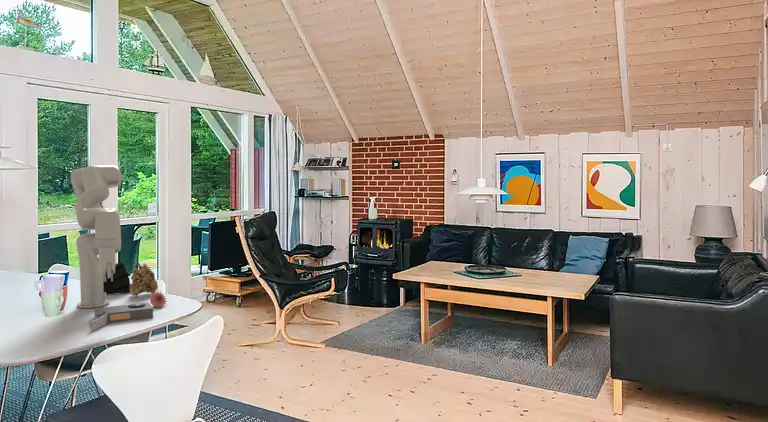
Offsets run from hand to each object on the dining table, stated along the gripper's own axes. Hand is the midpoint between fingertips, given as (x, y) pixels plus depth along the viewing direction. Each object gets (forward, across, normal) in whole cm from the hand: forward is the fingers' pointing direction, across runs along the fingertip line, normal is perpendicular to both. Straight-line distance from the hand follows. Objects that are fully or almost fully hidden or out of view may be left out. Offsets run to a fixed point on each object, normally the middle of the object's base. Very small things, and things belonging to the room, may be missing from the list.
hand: (108, 291), depth 211 cm
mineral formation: (+15, -55, +19) cm, 60 cm away
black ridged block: (+15, -66, +8) cm, 68 cm away
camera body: (+13, -12, +6) cm, 19 cm away
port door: (+13, 0, -4) cm, 14 cm away
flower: (+14, -26, +21) cm, 36 cm away
